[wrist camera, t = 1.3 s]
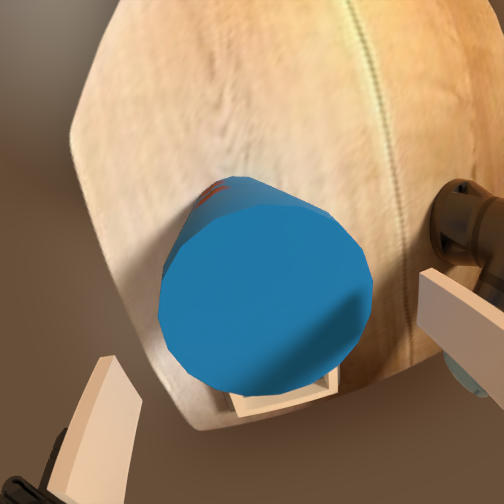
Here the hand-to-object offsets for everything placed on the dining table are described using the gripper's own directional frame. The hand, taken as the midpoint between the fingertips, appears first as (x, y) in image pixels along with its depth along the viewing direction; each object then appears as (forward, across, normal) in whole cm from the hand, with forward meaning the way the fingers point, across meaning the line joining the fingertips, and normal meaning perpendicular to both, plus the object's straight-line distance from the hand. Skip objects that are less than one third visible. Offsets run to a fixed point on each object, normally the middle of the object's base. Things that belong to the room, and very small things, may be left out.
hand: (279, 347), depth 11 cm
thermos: (+28, 0, 0) cm, 28 cm away
